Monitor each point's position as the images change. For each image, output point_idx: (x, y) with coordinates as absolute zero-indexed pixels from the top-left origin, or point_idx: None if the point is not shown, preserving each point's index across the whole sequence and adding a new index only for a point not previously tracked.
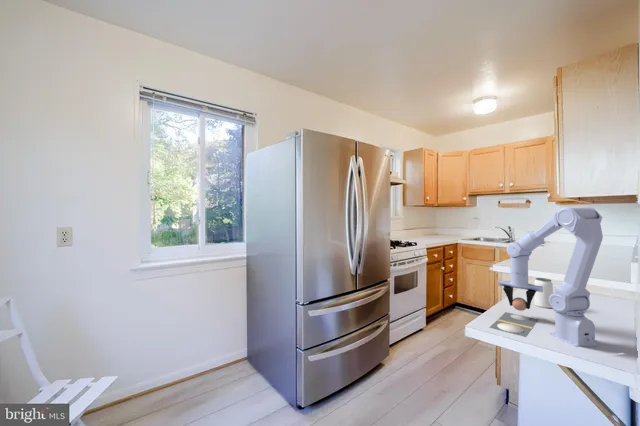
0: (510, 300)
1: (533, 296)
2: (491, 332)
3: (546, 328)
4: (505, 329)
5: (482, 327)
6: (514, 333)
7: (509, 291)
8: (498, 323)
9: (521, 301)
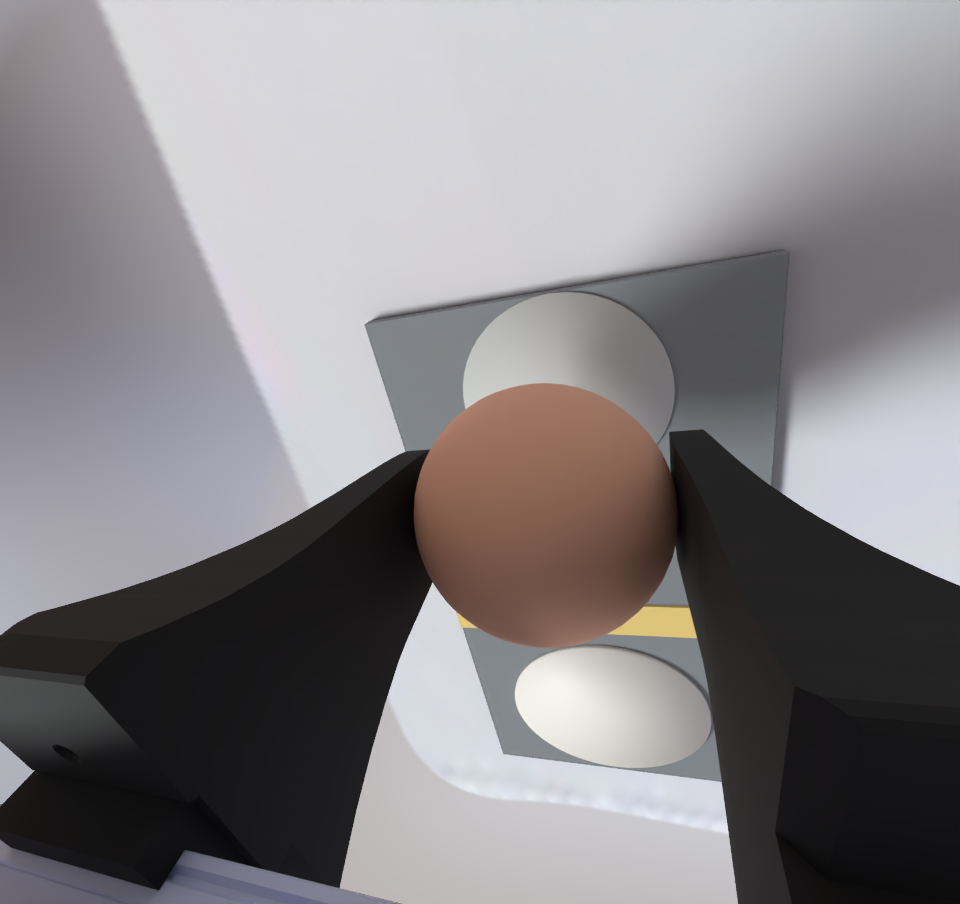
0: (415, 605)
1: (906, 577)
2: (543, 781)
3: (902, 500)
4: (596, 752)
5: (469, 746)
6: (664, 767)
7: (340, 839)
8: (505, 673)
9: (595, 637)
